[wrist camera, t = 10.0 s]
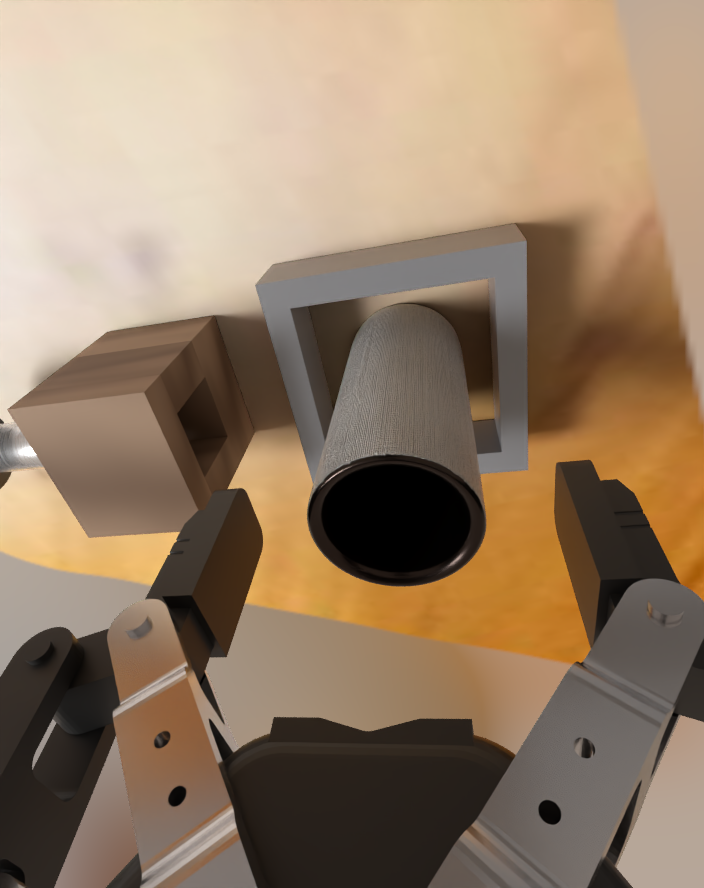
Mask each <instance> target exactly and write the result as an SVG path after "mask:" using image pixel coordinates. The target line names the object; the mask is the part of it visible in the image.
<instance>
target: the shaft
mask: <svg viewBox="0 0 704 888" xmlns="http://www.w3.org/2000/svg"><path fill="white" fill-rule="evenodd" d="M43 468H44V467H43V465H42V463H41V462H40V460H39V459H38V457H37V456H36V454H35V452H34V451H33V449H32V448H31V446H30V445H29V443H28V441H27V440H26V438H25V437H24V435H23V434H22V432H21V430H20V429H19V427H18V426H17V424H16V423H15V422H14V423H5V424H4V422H3V421H2V420H1V419H0V489H1V488H2V487H3V486H4V484H5V483H6V482H7V480H8V479H9V477H10V475H11V472H12V471H22V470H32V469H43Z"/></svg>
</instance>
